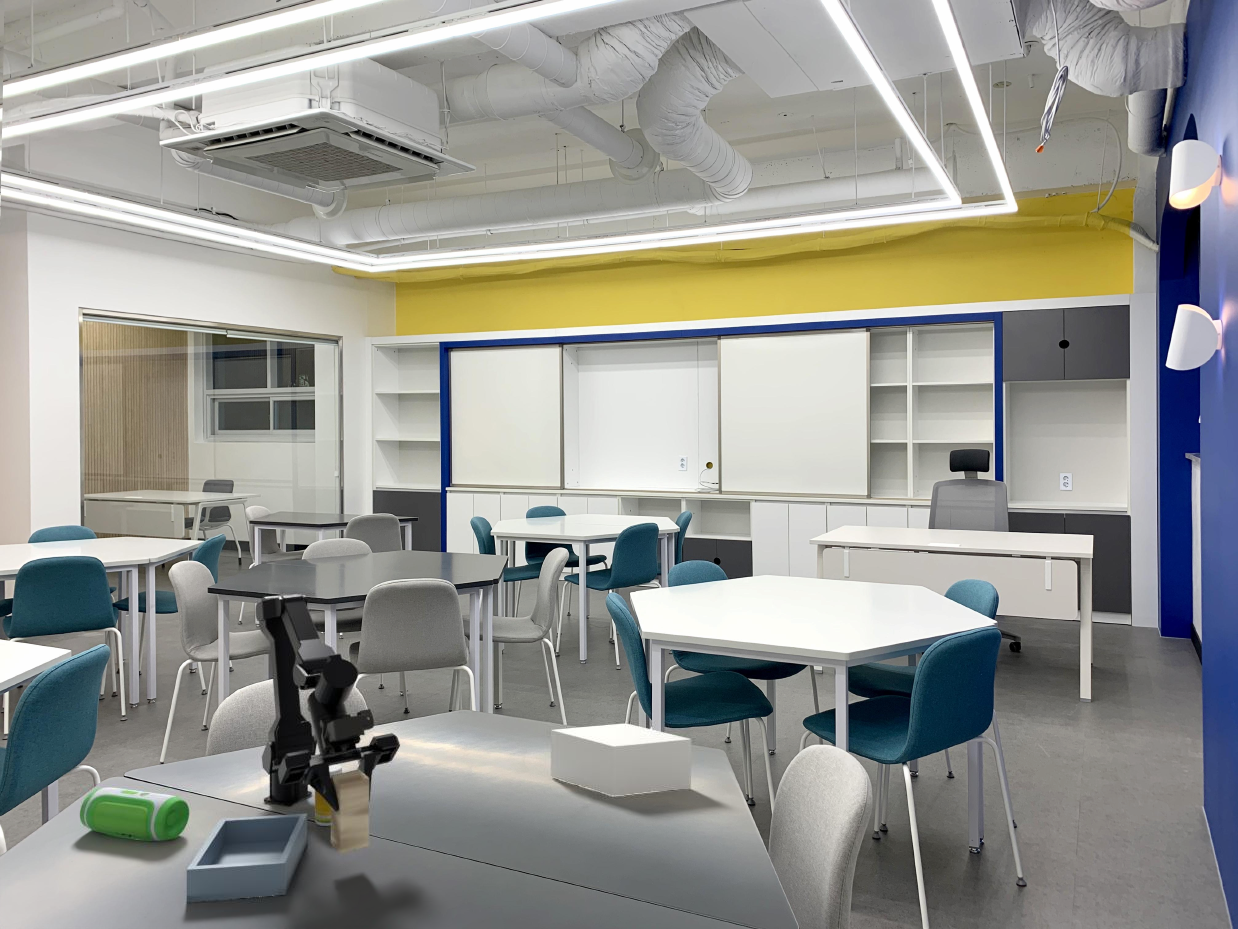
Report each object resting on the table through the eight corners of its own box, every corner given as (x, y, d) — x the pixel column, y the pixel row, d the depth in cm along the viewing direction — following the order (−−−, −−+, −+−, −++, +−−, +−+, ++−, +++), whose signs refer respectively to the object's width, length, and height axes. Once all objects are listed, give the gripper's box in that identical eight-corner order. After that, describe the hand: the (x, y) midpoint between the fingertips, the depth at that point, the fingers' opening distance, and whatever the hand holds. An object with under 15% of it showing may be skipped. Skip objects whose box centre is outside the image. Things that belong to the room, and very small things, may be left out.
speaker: (192, 832, 154) (192, 790, 154) (160, 850, 147) (160, 806, 147) (111, 820, 159) (111, 779, 159) (77, 837, 152) (76, 794, 152)
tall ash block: (330, 842, 141) (331, 775, 141) (358, 835, 144) (358, 769, 144) (340, 853, 138) (340, 784, 137) (368, 845, 140) (369, 778, 140)
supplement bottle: (336, 828, 156) (336, 774, 156) (309, 825, 157) (309, 771, 157) (351, 815, 161) (351, 763, 161) (324, 813, 162) (324, 761, 162)
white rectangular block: (687, 804, 168) (687, 751, 168) (541, 792, 173) (542, 741, 173) (693, 776, 183) (694, 727, 182) (559, 766, 188) (559, 719, 187)
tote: (220, 848, 148) (220, 818, 148) (307, 842, 150) (307, 813, 150) (186, 902, 130) (186, 869, 130) (285, 895, 133) (285, 863, 132)
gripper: (283, 704, 138) (304, 796, 129) (396, 686, 149) (422, 769, 140) (269, 740, 144) (288, 830, 136) (378, 719, 155) (402, 801, 147)
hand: (352, 806), depth 139 cm, fingers closed on tall ash block, 5 cm apart
